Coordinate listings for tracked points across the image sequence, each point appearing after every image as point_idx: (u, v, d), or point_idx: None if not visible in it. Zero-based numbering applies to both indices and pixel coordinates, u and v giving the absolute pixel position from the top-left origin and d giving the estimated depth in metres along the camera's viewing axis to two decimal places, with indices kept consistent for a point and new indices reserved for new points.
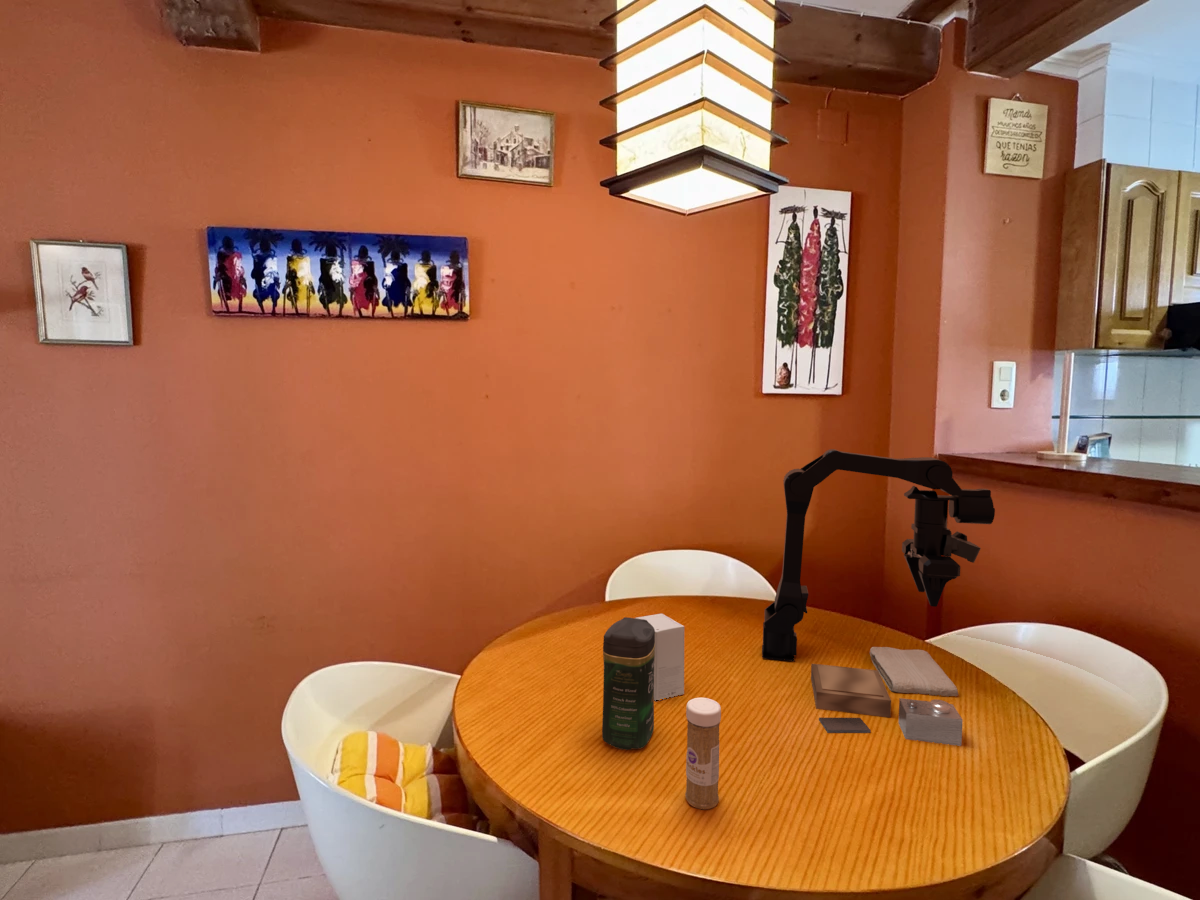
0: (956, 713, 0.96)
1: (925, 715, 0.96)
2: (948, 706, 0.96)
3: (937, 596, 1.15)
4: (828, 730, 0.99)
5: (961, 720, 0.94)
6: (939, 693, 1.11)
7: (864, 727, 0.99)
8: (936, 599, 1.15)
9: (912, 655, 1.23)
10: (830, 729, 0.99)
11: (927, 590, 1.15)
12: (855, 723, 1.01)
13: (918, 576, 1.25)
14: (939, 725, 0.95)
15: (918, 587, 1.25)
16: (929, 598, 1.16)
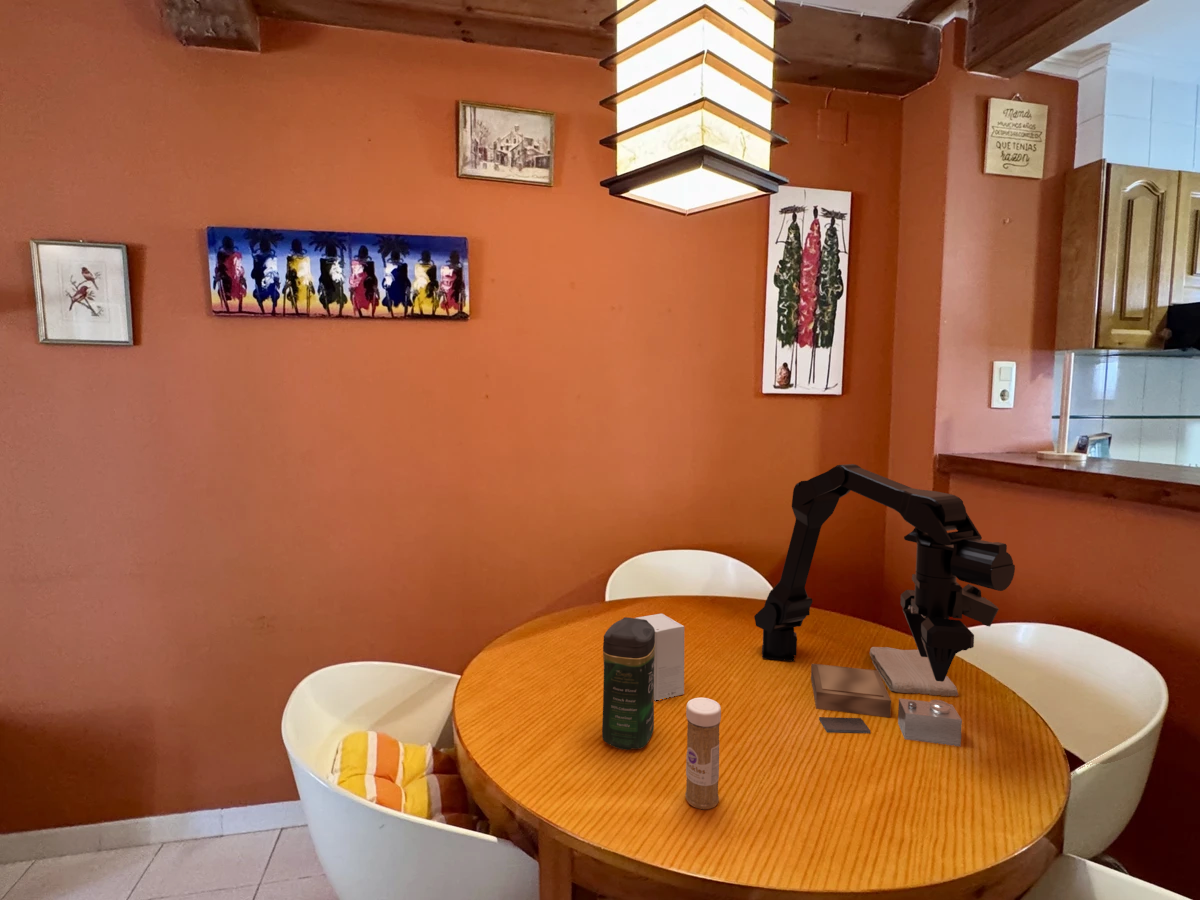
0: (955, 713, 0.96)
1: (924, 715, 0.96)
2: (947, 706, 0.96)
3: (944, 669, 0.92)
4: (827, 730, 0.99)
5: (961, 720, 0.94)
6: (939, 693, 1.11)
7: (864, 727, 0.99)
8: (943, 673, 0.92)
9: (912, 656, 1.23)
10: (829, 728, 0.99)
11: (932, 661, 0.92)
12: (855, 723, 1.00)
13: (920, 637, 1.02)
14: (938, 725, 0.95)
15: (920, 651, 1.02)
16: (934, 672, 0.93)
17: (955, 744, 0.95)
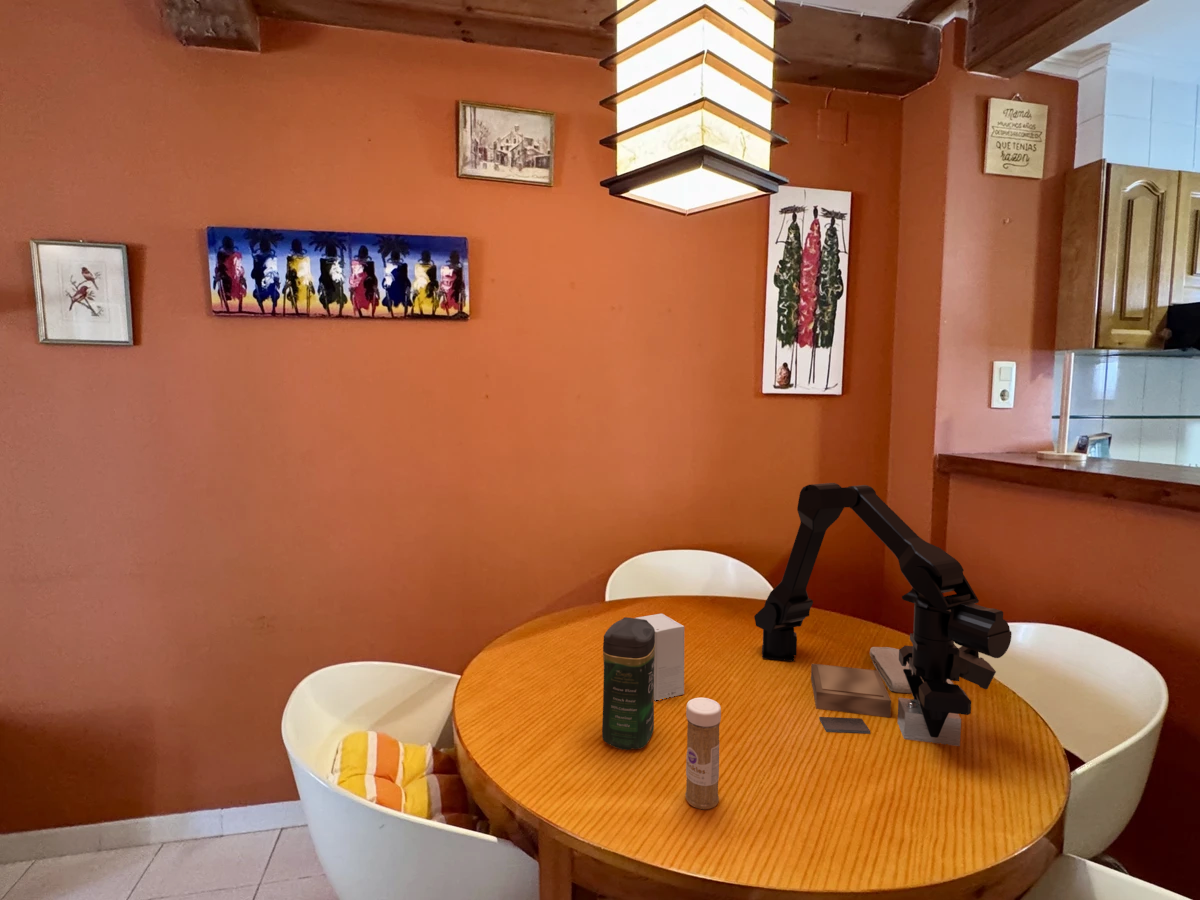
0: None
1: None
2: None
3: (938, 726, 0.94)
4: (827, 729, 0.99)
5: (960, 719, 0.94)
6: None
7: (864, 727, 0.99)
8: (937, 729, 0.95)
9: None
10: (829, 728, 0.99)
11: (926, 718, 0.94)
12: (855, 723, 1.00)
13: None
14: None
15: None
16: (929, 728, 0.95)
17: (954, 743, 0.95)
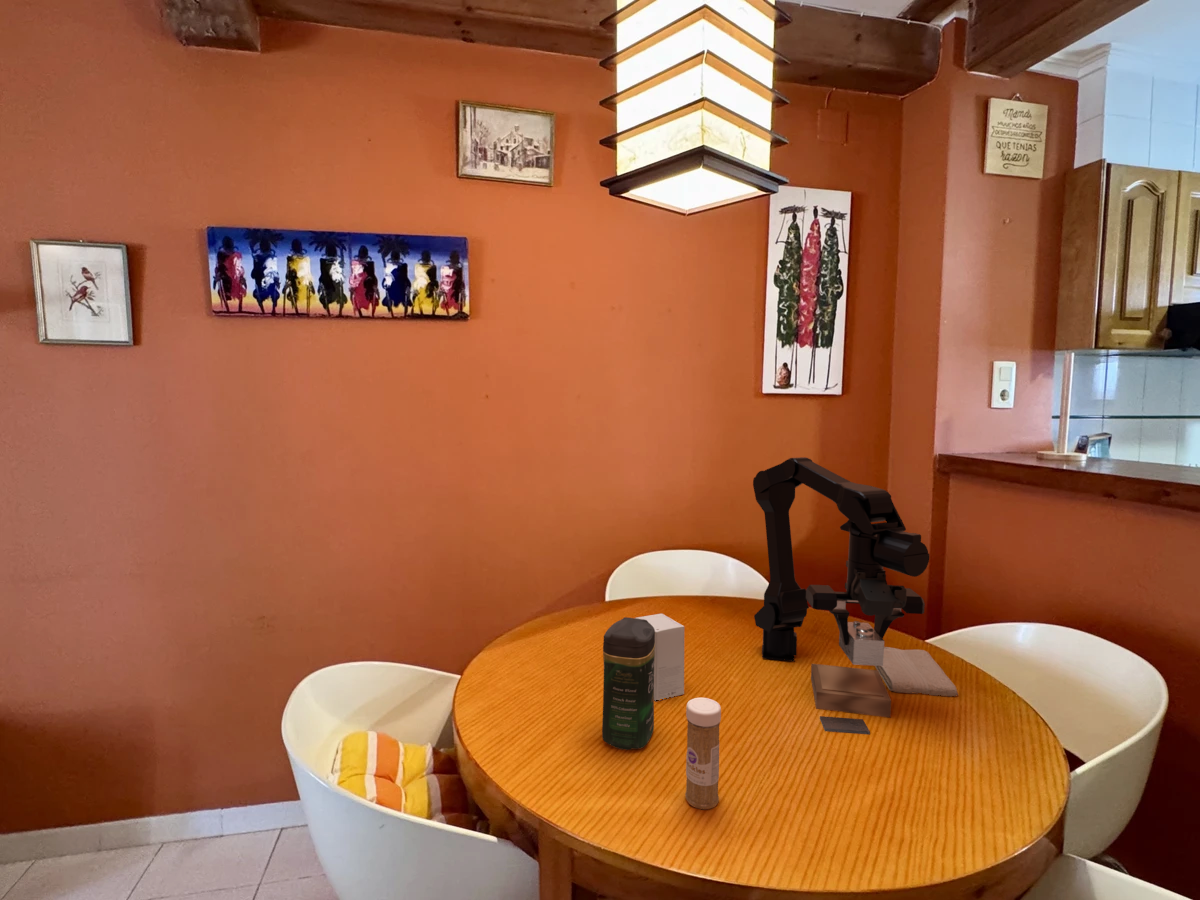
0: (864, 639, 1.04)
1: None
2: (862, 630, 1.05)
3: (841, 633, 1.08)
4: (825, 728, 0.99)
5: (854, 639, 1.04)
6: (938, 693, 1.11)
7: (864, 728, 0.99)
8: (842, 636, 1.08)
9: (912, 655, 1.23)
10: (828, 727, 0.99)
11: (837, 623, 1.09)
12: (856, 724, 1.00)
13: (876, 627, 1.08)
14: (848, 639, 1.07)
15: None
16: (841, 634, 1.09)
17: (851, 660, 1.05)
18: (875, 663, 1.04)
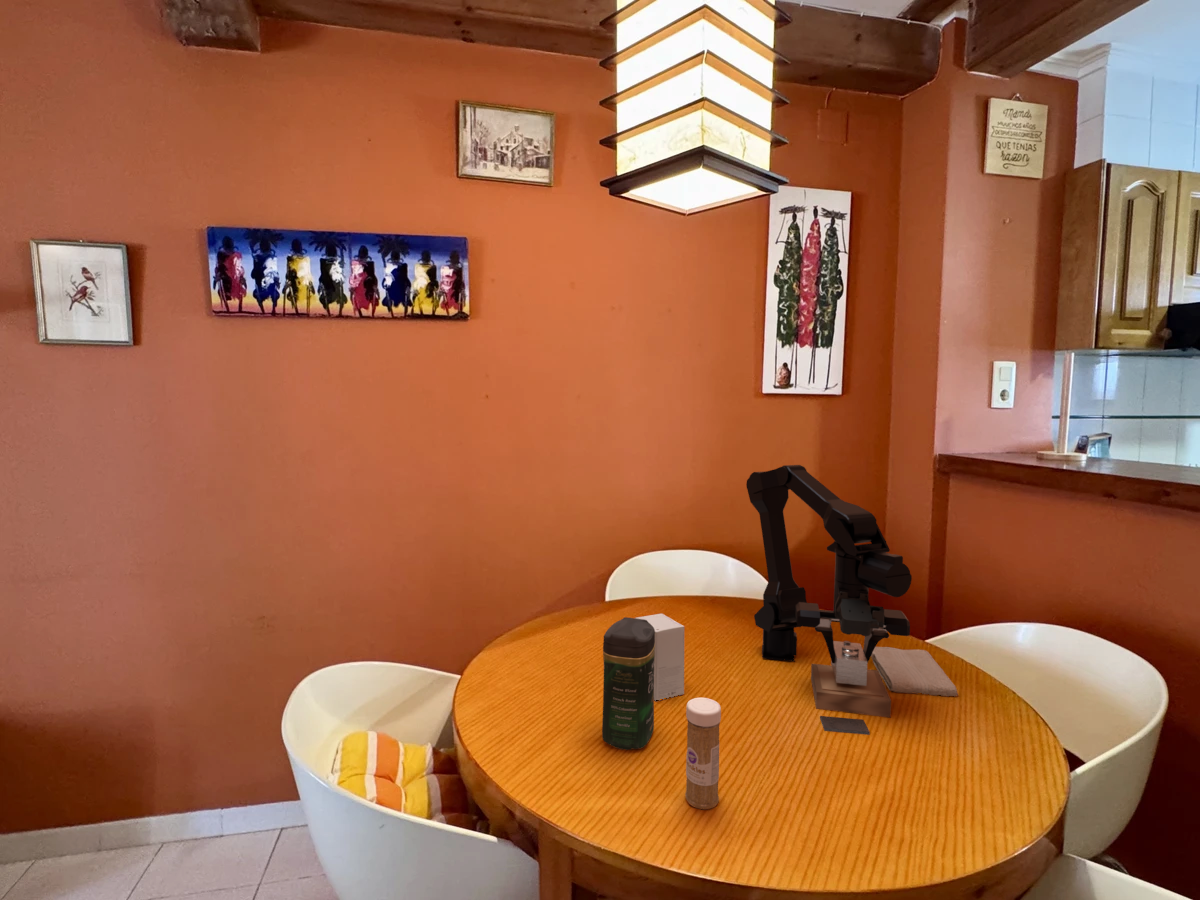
0: (847, 658, 1.07)
1: (834, 647, 1.12)
2: (847, 650, 1.08)
3: None
4: (825, 728, 0.99)
5: (836, 658, 1.07)
6: (938, 693, 1.11)
7: (864, 728, 0.99)
8: None
9: (913, 655, 1.23)
10: (827, 727, 0.99)
11: None
12: (856, 724, 1.00)
13: (864, 647, 1.10)
14: None
15: None
16: None
17: (835, 678, 1.08)
18: (858, 683, 1.06)
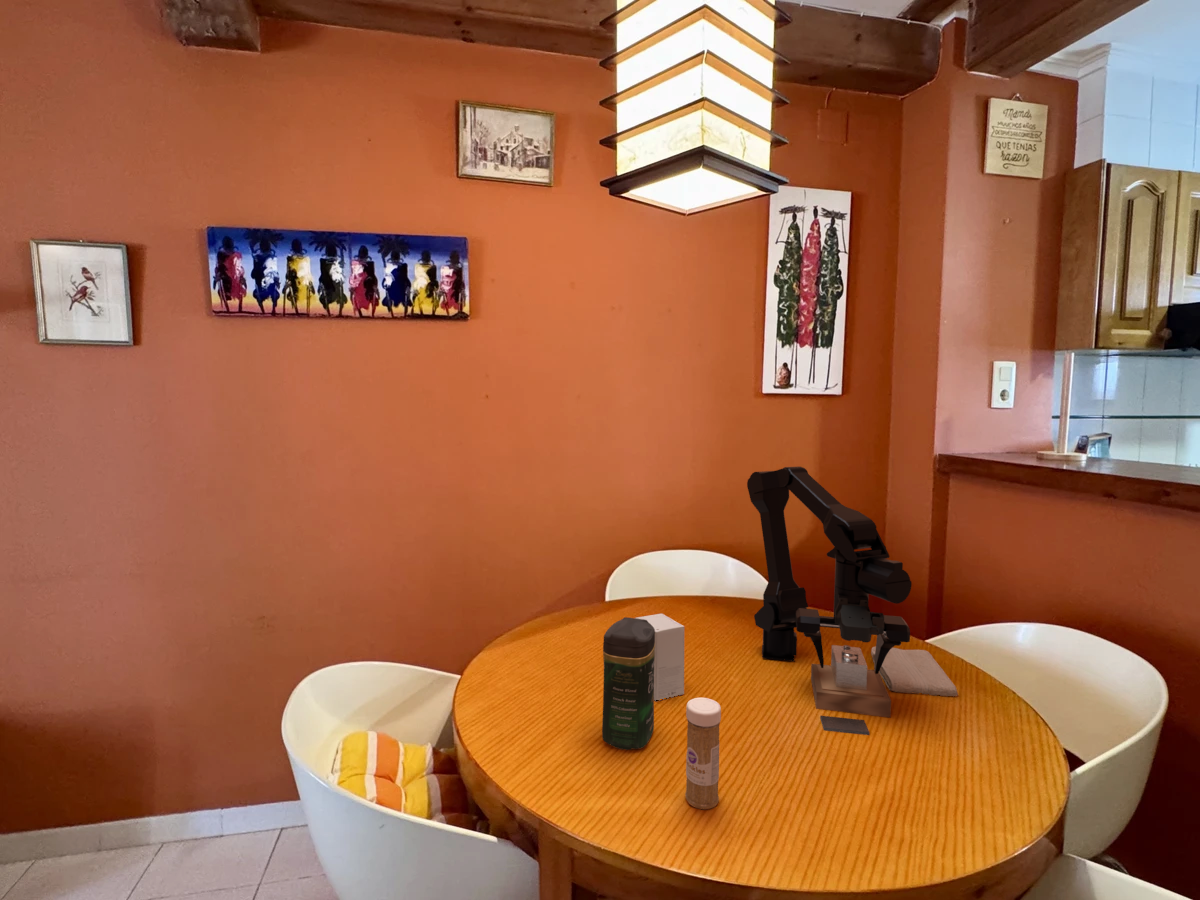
0: (847, 662, 1.07)
1: (833, 651, 1.12)
2: (846, 654, 1.08)
3: None
4: (824, 728, 0.99)
5: (836, 662, 1.07)
6: (938, 693, 1.11)
7: (864, 729, 0.99)
8: None
9: (913, 655, 1.23)
10: (827, 726, 0.99)
11: None
12: (856, 724, 1.00)
13: (876, 654, 1.09)
14: (834, 662, 1.10)
15: (874, 666, 1.10)
16: None
17: (835, 683, 1.08)
18: (858, 687, 1.06)
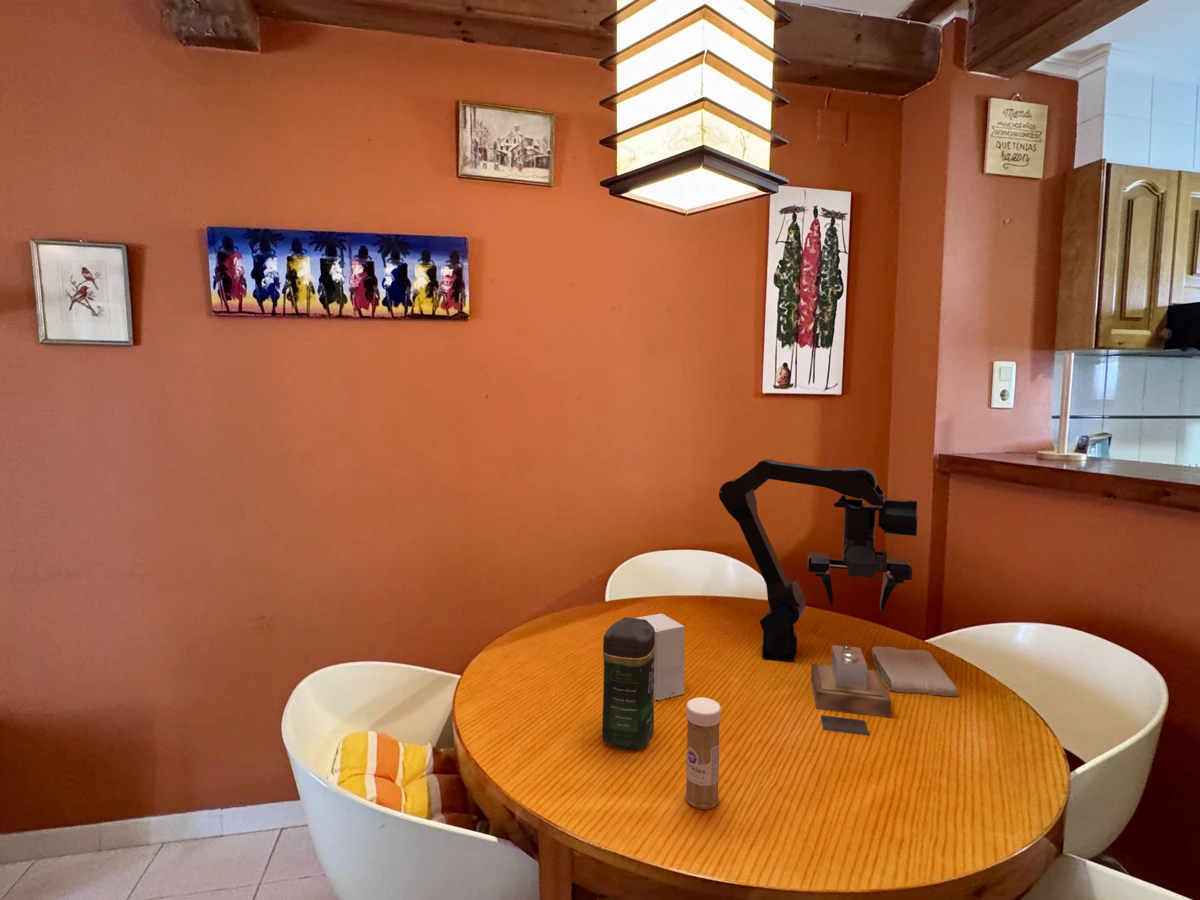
0: (847, 662, 1.07)
1: (833, 651, 1.12)
2: (846, 654, 1.08)
3: (827, 594, 1.22)
4: (824, 727, 0.99)
5: (836, 662, 1.07)
6: (938, 693, 1.11)
7: (864, 729, 0.99)
8: (828, 597, 1.22)
9: (914, 655, 1.23)
10: (826, 726, 1.00)
11: None
12: (856, 724, 1.00)
13: (881, 593, 1.19)
14: (834, 662, 1.10)
15: (880, 604, 1.20)
16: None
17: (835, 683, 1.08)
18: (858, 687, 1.06)
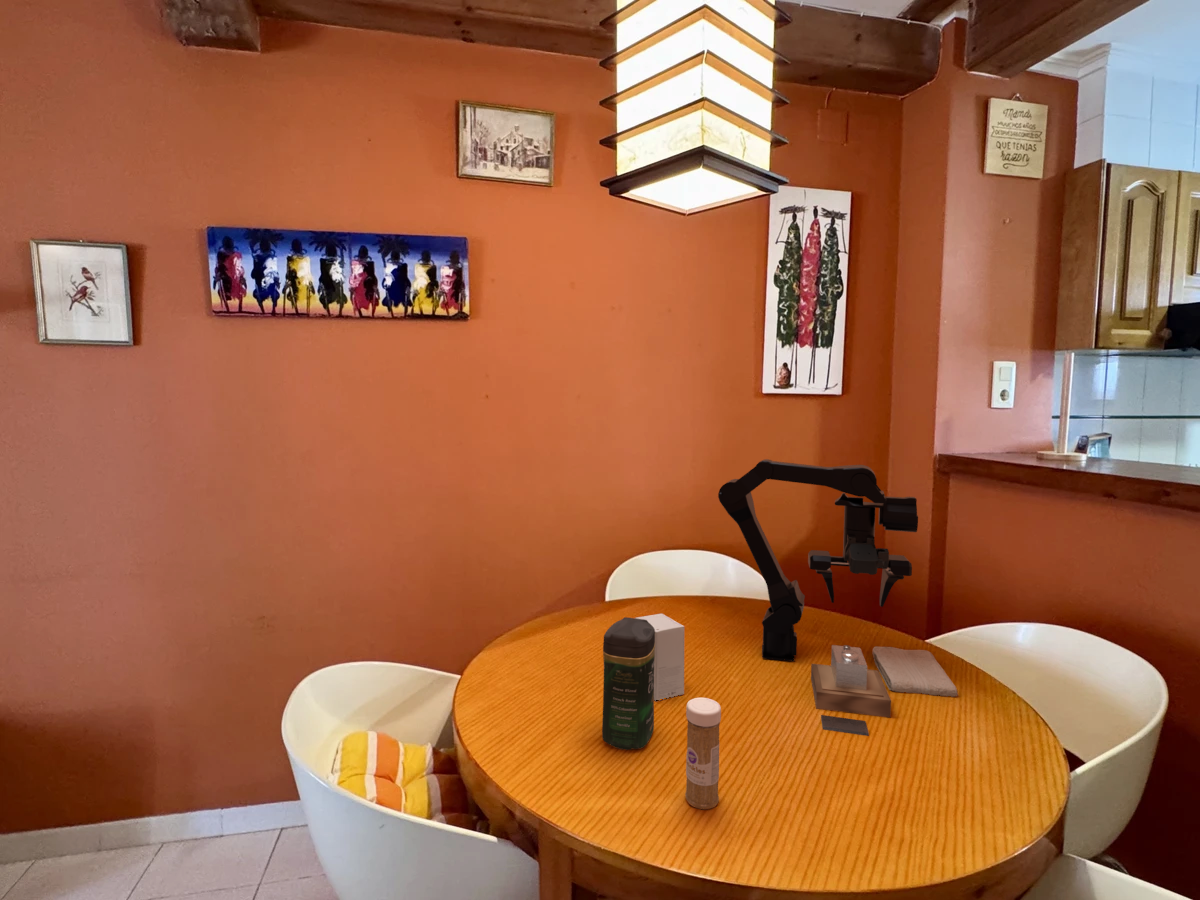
0: (847, 662, 1.07)
1: (833, 651, 1.12)
2: (846, 654, 1.08)
3: None
4: (823, 727, 1.00)
5: (836, 662, 1.07)
6: (938, 693, 1.11)
7: (864, 729, 0.99)
8: None
9: (915, 656, 1.23)
10: (826, 726, 1.00)
11: None
12: (856, 725, 1.00)
13: (881, 589, 1.21)
14: (834, 662, 1.10)
15: None
16: None
17: (835, 683, 1.08)
18: (858, 687, 1.06)
